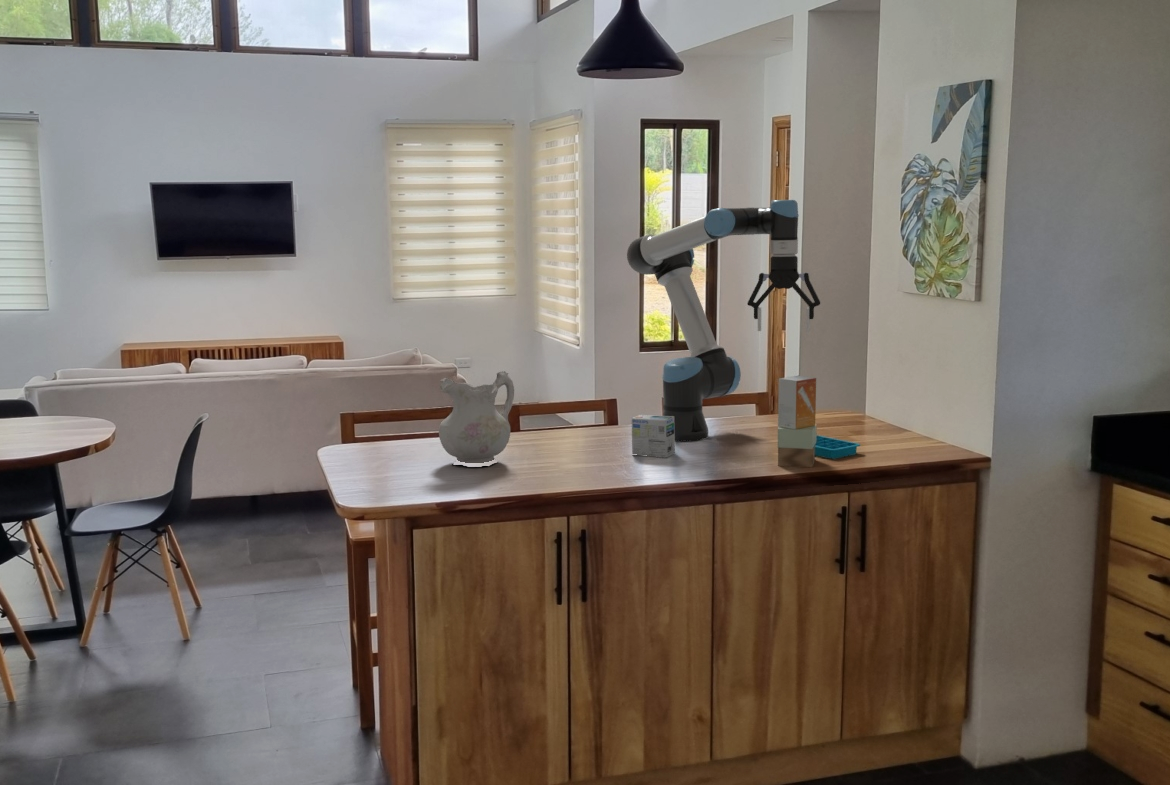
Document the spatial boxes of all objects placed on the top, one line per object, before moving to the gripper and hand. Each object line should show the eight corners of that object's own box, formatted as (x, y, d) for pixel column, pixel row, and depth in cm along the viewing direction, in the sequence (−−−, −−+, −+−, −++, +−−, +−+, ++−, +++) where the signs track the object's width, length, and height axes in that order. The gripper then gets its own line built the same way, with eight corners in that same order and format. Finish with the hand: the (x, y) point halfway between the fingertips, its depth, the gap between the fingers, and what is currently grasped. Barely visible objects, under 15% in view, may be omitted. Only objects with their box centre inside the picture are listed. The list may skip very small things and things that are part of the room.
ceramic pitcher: (489, 455, 311) (481, 369, 308) (534, 459, 297) (526, 369, 294) (428, 469, 296) (419, 379, 293) (472, 474, 282) (463, 379, 279)
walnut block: (777, 466, 286) (778, 447, 285) (780, 458, 294) (781, 440, 293) (812, 467, 283) (812, 448, 282) (814, 460, 292) (814, 441, 291)
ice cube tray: (833, 461, 291) (833, 450, 290) (779, 449, 307) (779, 438, 307) (862, 455, 297) (862, 444, 297) (808, 443, 314) (808, 433, 313)
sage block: (777, 447, 285) (777, 428, 284) (782, 440, 294) (783, 422, 293) (812, 449, 282) (812, 430, 282) (816, 442, 291) (816, 423, 290)
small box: (795, 430, 282) (796, 380, 280) (777, 426, 287) (777, 378, 285) (816, 425, 287) (816, 377, 285) (797, 422, 292) (798, 374, 290)
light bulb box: (675, 453, 303) (675, 415, 301) (667, 458, 297) (666, 420, 295) (640, 450, 308) (639, 413, 306) (631, 455, 302) (630, 417, 300)
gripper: (737, 256, 304) (737, 331, 307) (828, 255, 297) (827, 332, 301) (741, 255, 311) (741, 329, 314) (830, 254, 304) (829, 329, 308)
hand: (783, 330), depth 307 cm, fingers open, 13 cm apart
